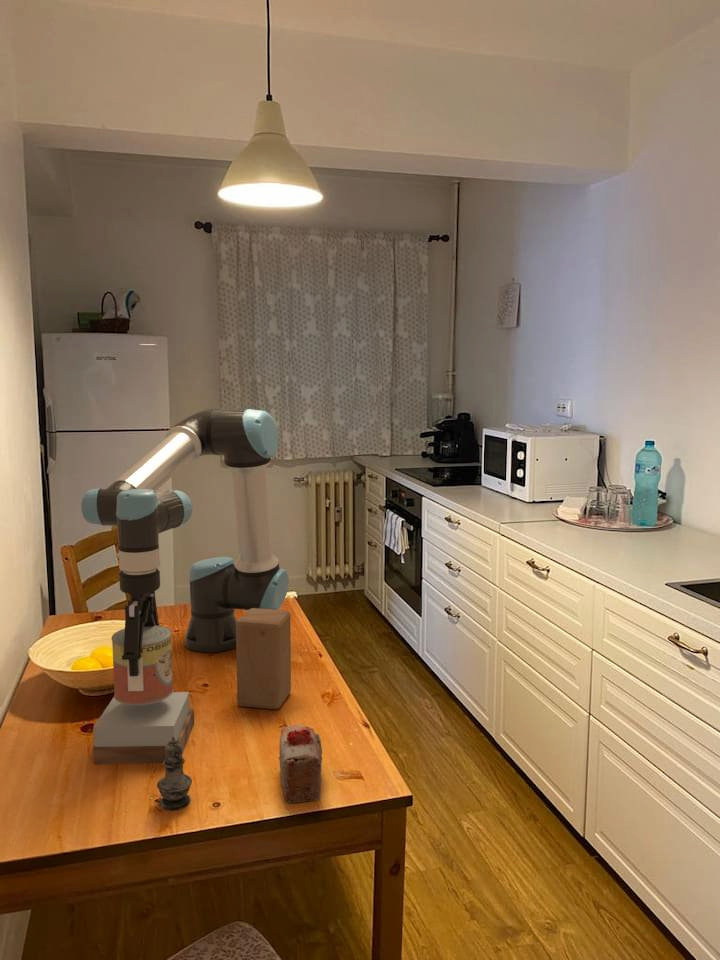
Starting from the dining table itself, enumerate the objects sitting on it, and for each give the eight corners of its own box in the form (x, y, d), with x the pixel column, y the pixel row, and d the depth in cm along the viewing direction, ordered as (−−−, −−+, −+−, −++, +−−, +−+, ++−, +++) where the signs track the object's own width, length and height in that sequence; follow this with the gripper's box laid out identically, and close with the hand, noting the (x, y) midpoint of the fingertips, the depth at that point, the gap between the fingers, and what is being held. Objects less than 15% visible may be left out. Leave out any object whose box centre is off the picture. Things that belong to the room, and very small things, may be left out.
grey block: (117, 711, 156) (116, 692, 155) (189, 710, 156) (189, 692, 156) (94, 746, 141) (93, 726, 140) (174, 745, 142) (174, 725, 141)
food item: (276, 765, 142) (276, 716, 140) (318, 761, 143) (318, 712, 142) (282, 805, 128) (281, 752, 127) (328, 801, 130) (328, 748, 128)
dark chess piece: (160, 814, 125) (158, 747, 124) (155, 796, 131) (152, 732, 129) (195, 806, 128) (193, 741, 126) (188, 789, 133) (187, 725, 131)
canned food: (158, 707, 142) (155, 647, 140) (103, 702, 144) (100, 642, 142) (182, 683, 152) (180, 627, 151) (131, 679, 154) (128, 623, 153)
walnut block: (117, 727, 157) (117, 709, 157) (194, 726, 158) (193, 708, 157) (93, 767, 141) (92, 747, 141) (179, 765, 142) (178, 746, 141)
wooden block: (279, 711, 163) (278, 623, 161) (235, 707, 165) (234, 620, 162) (292, 692, 173) (291, 609, 170) (251, 688, 175) (249, 606, 172)
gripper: (135, 555, 156) (139, 655, 159) (101, 587, 133) (106, 704, 136) (171, 554, 156) (174, 655, 159) (144, 587, 133) (148, 703, 136)
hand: (143, 677), depth 148 cm, fingers closed on canned food, 11 cm apart
